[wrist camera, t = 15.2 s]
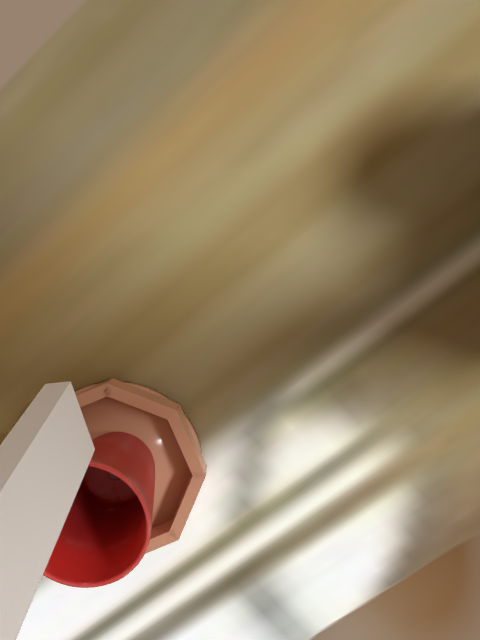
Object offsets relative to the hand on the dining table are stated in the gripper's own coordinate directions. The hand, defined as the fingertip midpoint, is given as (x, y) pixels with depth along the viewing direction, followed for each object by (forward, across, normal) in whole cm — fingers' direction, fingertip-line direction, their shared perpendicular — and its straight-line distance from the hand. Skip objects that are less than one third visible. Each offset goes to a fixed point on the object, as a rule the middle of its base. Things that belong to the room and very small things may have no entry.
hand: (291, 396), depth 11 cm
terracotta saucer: (+20, -16, -23) cm, 34 cm away
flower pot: (+19, -16, -22) cm, 34 cm away
